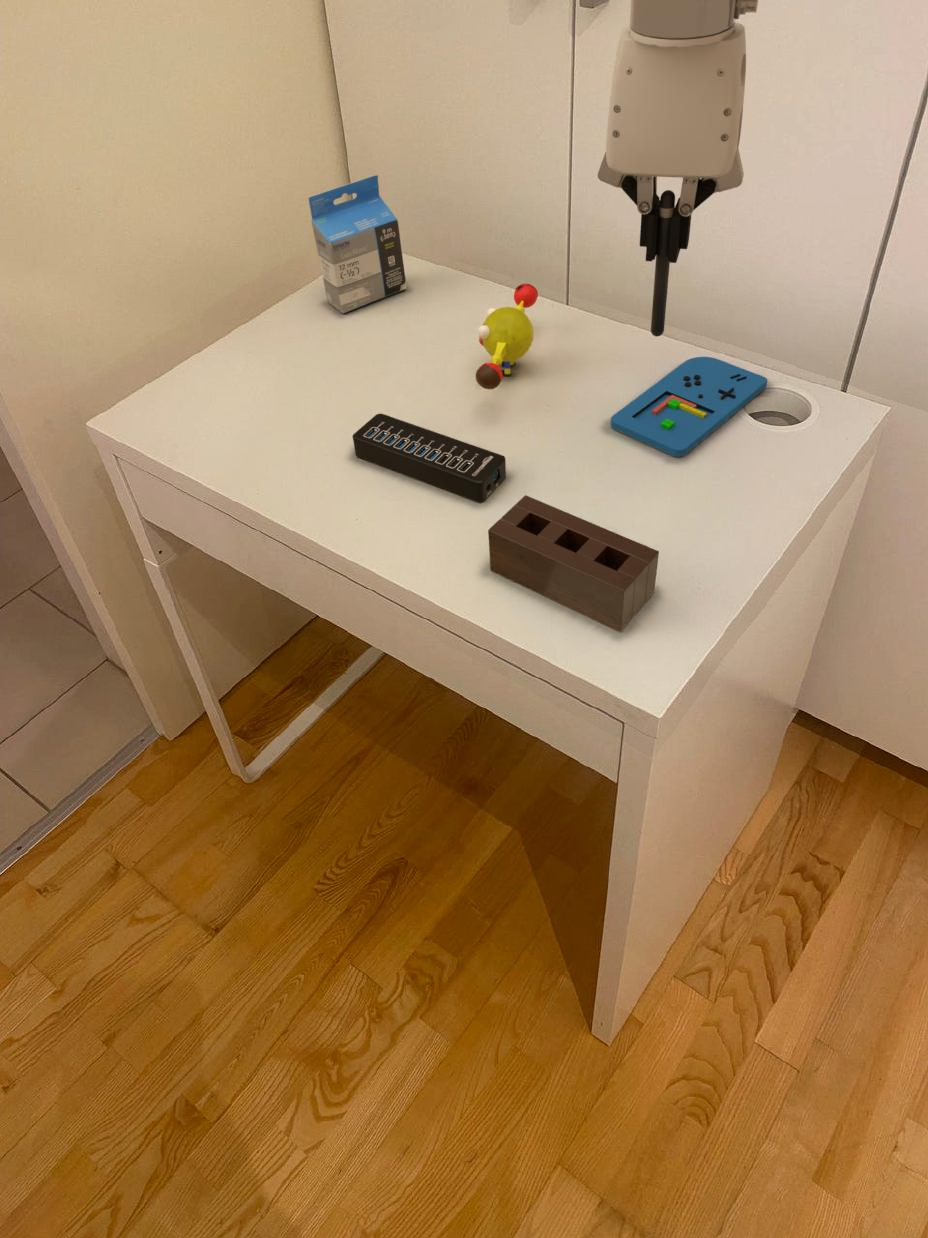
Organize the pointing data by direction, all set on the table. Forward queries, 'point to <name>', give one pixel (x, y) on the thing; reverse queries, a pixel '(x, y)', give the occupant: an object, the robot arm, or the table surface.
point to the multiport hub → (430, 457)
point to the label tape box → (357, 245)
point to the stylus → (662, 263)
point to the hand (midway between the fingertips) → (663, 253)
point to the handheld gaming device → (688, 404)
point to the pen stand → (573, 562)
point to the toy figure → (506, 337)
